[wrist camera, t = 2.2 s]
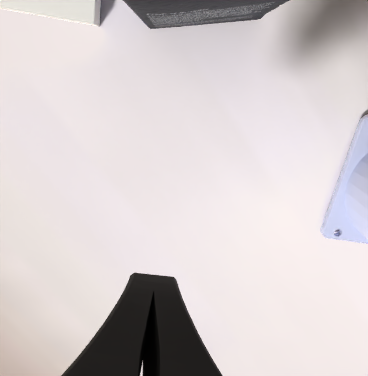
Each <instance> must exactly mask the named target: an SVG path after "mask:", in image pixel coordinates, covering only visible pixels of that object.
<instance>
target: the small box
mask: <svg viewBox="0 0 368 376" xmlns="http://www.w3.org/2000/svg"><path fill="white" fill-rule="evenodd" d="M123 1H124V2H125V3H126V4H127V5H128V6H129V7H130V8H131V9H132V10H133V11H134V12H135V13H136V14H137V15H138V17H139V18H140V19H141V20H142V21H143V22H144V23H145V24H146V25H147V26H148V27H149V28H150V29H156V28H166V27H169V28H170V27H181V26H192V25H202V24H213V23H224V22H236V21H246V20H257V19H261V18H262V17H263V16H264V15H265V14H266V13H268V12H270V11H271V10H274V9H275V8H277V7H279V5H282V4H284V3H285V2H287V1H289V0H123Z"/></svg>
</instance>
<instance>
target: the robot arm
mask: <svg viewBox="0 0 368 376" xmlns="http://www.w3.org/2000/svg"><path fill="white" fill-rule="evenodd" d="M338 229H339V231H338V232H337V233H334V232H335V231H336V230H338ZM321 233H322V235H323V236H324V237H325V238H329V239H336V240H344V241H351V242H358V243H366V244H368V114H367V115H365V116H363V117H362V118H361V119H360V121H359V124H358V127H357V129H356V132H355V135H354V138H353V141H352V143H351V146H350V149H349V152H348V154H347V157H346V160H345V163H344V166H343V168H342V171H341V174H340V177H339V179H338V182H337V185H336V188H335V191H334V193H333V196H332V199H331V202H330V205H329V207H328V210H327V213H326V216H325V218H324V221H323V224H322V227H321ZM142 361H143V376H222V374H221V373H220V371H219V369H218V368H217V366H216V364H215V363H214V361H213V359H212V358H211V356H210V354H209V352H208V351H207V349H206V347H205V345H204V343H203V342H202V340H201V338H200V336H199V334H198V332H197V330H196V328H195V326H194V324H193V321H192V319H191V317H190V315H189V313H188V311H187V308H186V306H185V303H184V301H183V299H182V296H181V293H180V290H179V287H178V284H177V281H176V279H175V278H174V277H169V276H159V275H150V274H141V273H134V274H132V275H130V278H129V281H128V283H127V286H126V288H125V290H124V292H123V293H122V295H121V297H120V299H119V300H118V302H117V304H116V305H115V307H114V308H113V310H112V311H111V313H110V315H109V316H108V318H107V319H106V321H105V322H104V324H103V325H102V326H101V328H100V329H99V330H98V332H97V333H96V334H95V336H94V337H93V338H92V340H91V341H90V342H89V344H88V345H87V346H86V348H85V349H84V350H83V351H82V352H81V354H80V355H79V356H78V357H77V359H76V360H75V361H74V362H73V363H72V364H71V365H70V367H69V368H68V369H67V370H66V371H65V372H64V373H63V375H62V376H140V372H141V367H142Z"/></svg>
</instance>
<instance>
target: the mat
mask: <svg viewBox="0 0 368 376" xmlns="http://www.w3.org/2000/svg"><path fill="white" fill-rule="evenodd" d="M0 9H4V10H9V11H15V12H20V13H26V14H32V15H37V16H43V17H48V18H54V19H60V20H65V21H71V22H76V23H82V24H87V25H93V26H99V27H100V9H101V0H0Z"/></svg>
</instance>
